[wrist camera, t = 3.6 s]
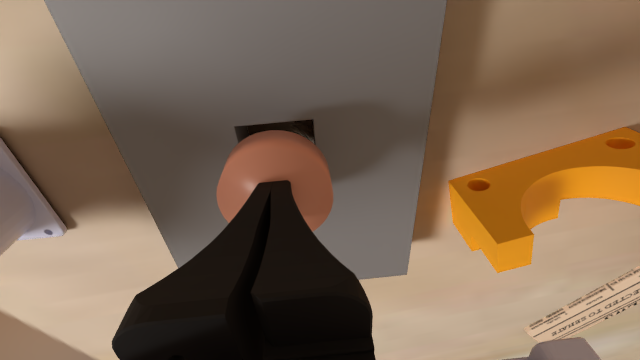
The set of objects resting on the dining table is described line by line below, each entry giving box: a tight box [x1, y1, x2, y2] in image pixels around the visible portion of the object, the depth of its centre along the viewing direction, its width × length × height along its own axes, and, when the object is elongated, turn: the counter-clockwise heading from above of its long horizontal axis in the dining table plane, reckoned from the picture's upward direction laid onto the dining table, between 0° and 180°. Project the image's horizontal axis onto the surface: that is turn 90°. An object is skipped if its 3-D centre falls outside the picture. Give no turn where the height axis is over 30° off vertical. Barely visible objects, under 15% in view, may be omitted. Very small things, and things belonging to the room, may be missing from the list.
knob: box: [216, 130, 333, 232], centre depth 15 cm, size 5×5×5 cm
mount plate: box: [44, 0, 447, 280], centre depth 17 cm, size 16×22×3 cm
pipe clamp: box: [449, 127, 640, 273], centre depth 20 cm, size 12×4×6 cm, turn 109°
